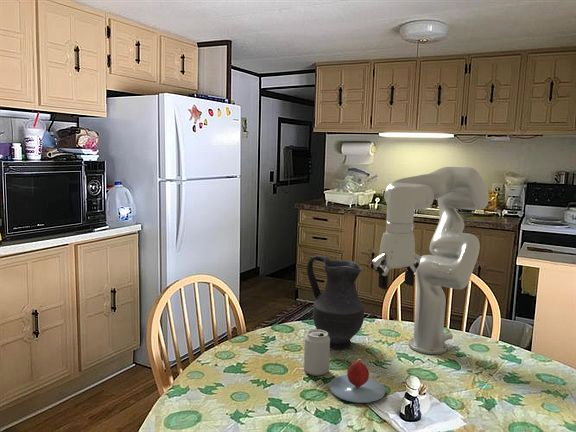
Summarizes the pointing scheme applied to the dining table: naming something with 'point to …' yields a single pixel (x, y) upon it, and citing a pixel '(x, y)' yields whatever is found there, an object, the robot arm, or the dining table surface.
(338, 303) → the pitcher
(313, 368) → the can
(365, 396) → the plate
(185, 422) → the dining table surface
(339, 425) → the dining table surface
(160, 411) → the dining table surface
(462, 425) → the dining table surface
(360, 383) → the onion
